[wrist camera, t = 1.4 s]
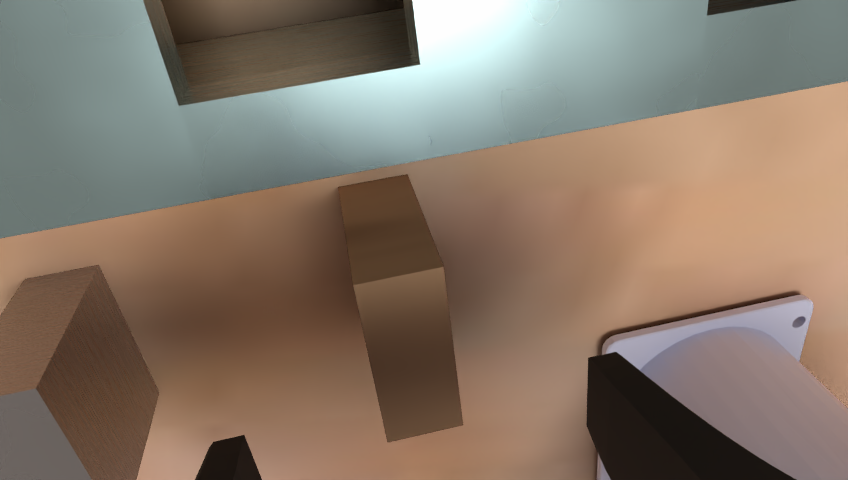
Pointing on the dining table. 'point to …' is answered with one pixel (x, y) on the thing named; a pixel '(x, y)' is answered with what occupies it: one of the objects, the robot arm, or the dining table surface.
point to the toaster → (359, 89)
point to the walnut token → (401, 307)
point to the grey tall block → (71, 383)
